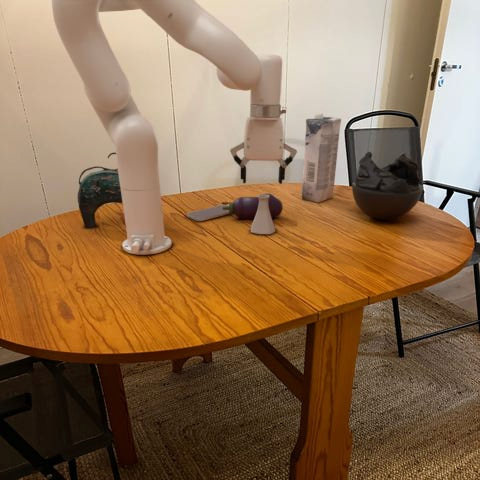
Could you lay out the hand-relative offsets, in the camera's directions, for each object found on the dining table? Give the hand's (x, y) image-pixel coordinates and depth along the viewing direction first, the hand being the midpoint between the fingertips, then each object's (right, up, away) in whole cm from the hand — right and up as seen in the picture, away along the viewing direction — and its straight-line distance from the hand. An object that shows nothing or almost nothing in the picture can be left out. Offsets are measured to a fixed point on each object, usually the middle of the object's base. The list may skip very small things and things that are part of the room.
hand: (262, 182), depth 119 cm
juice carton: (+21, +5, +36) cm, 42 cm away
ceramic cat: (-43, -8, +13) cm, 45 cm away
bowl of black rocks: (+37, -6, +16) cm, 41 cm away
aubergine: (-2, -6, +17) cm, 18 cm away
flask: (+1, -12, +7) cm, 14 cm away
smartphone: (-15, -4, +21) cm, 26 cm away
